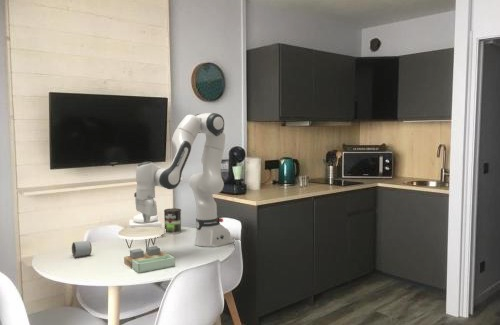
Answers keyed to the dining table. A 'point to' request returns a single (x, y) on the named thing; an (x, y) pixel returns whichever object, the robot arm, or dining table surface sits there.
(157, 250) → the tile
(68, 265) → the dining table surface
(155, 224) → the butter dish
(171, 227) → the coffee can
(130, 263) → the board
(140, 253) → the tile
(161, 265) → the tray
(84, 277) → the dining table surface
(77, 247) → the ceramic mug
